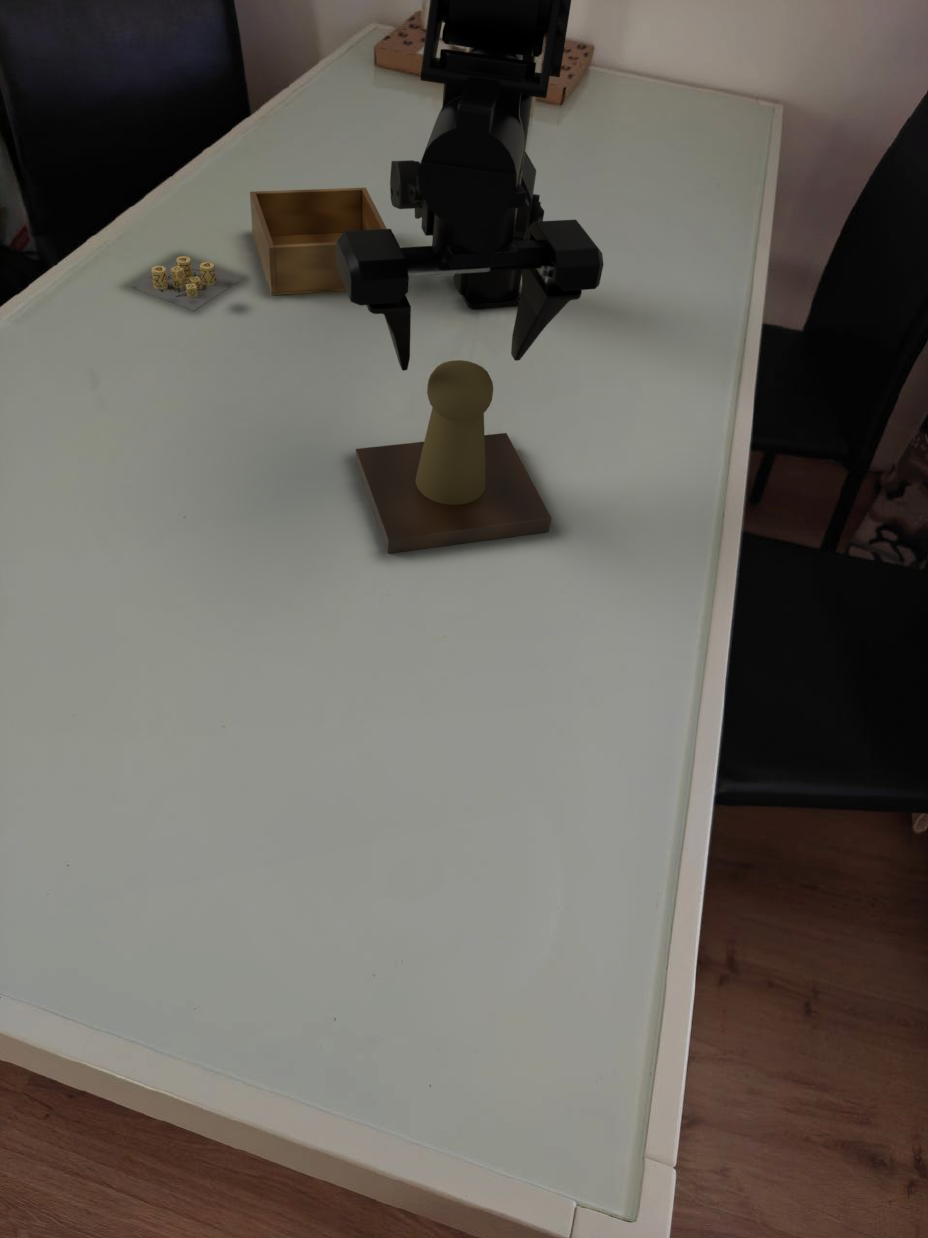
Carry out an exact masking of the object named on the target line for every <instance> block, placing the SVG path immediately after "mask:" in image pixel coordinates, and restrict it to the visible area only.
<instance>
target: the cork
mask: <svg viewBox="0 0 928 1238" xmlns="http://www.w3.org/2000/svg"><path fill="white" fill-rule="evenodd" d="M426 387H427V390H426V394H427V398H428V401H429V404H430V406H431V412H430V417H429V419H428V420H429V421H428V424H427V429H426V433H425V437H424V441H423V442H424V445H423V449H422V454H421V458H420V462H419V466H418V470H417V475H416V481H415V482H416V485H417V488H418V489H419V491H420V492H421V493H422V494H423V495H424V496H426V497H427V498H429V499H431V500H432V501H435V502H438V503H441V504H448V505H460V504H466V503H469V502H472V501H475V500H476V499H477V498H479V497H480V496H481V495H482V494H483V492H484V490H485V485H486V475H485V436H484V435H485V413H486V412H487V410H488V409H489V407H490V405H491V403H492V401H493V397H494V382H493V380H492V377H491V375H490V374H489V372H488V370H486V368H484V367H483V366H481V365H479V364H478V363H475V362H472V361H468V360H461V359H457V360H448V361H444V362H442V363H440V364H439V365H437V366H436V368H434V370H433V371H432V372H431V373H430V375H429V378H428V381H427V386H426Z"/></svg>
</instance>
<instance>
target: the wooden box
mask: <svg viewBox="0 0 928 1238" xmlns="http://www.w3.org/2000/svg"><path fill="white" fill-rule="evenodd" d="M249 201H250V202H249V203H250V214H251V233H252V239H253V243H254V245H255V249H256V252H257V255H258V258H259V261H260V264H261V267H262V270H263V273H264V277H265V279H266V283H267V286H268V289H269V292H270V295H271V296H282V295H298V294H313V293H314V294H315V293H329V292H344V291H346V289H345V286H344V284H343V282H342V279H341V277H340V275H339V272H338V270H337V267H336V243H337V240H338V239H339V238H340V236H341V235H342V234H343V232H344V231H355V230H375V229H388V228H387V226H386V224H385V222H384V221H383V219H382V216H381V214H380V212H379V211H378V208H377V207H376V204H375V202H374V201H373V199H372V197H371V195H370V193H369V191H368V189H367V187H344V188H342V187H340V188H316V189H315V188H314V189H313V188H312V189H287V190H283V189H282V190H260V191H259V190H255V191H254V190H253V191H249ZM346 292H347V291H346Z"/></svg>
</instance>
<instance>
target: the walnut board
mask: <svg viewBox="0 0 928 1238" xmlns="http://www.w3.org/2000/svg"><path fill="white" fill-rule="evenodd" d="M484 436H485V475H486V485H485V490H484V492H483V494H482V495H481V496H480V497H479V498H477V499H476V500H475V501H472V502H469V503H466V504H460V505H448V504H441V503H438V502H435V501H432V500H431V499H429V498H427V497H426V496H424V495H423V494H422V493H421V492H420V491H419V489H418V488H417V485H416V482H415V481H416V475H417V470H418V466H419V462H420V458H421V454H422V449H423V445H424V441H415V442H408V443H407V442H406V443H398V444H397V443H396V444H389V445H388V444H387V445H379V446H372V447H371V446H370V447H362V448H361V447H360V448H355V464H356V468H357V470H358V473H359V476H360V479H361V482H362V485H363V488H364V490H365V493H366V496H367V499H368V502H369V504H370V507H371V510H372V513H373V515H374V518H375V521H376V524H377V527H378V530H379V533H380V535H381V538H382V541H383V544H384V546H385V549H386V552H387V554H394V553H401V552H409V551H415V550H424V549H430V548H431V549H432V548H439V547H445V546H446V547H447V546H453V545H461V544H469V543H475V542H482V541H490V540H497V539H504V538H511V537H519V536H525V535H526V536H527V535H534V534H535V535H536V534H541V533H542V534H543V533H549V532H550V529H551V523H552V517H551V514H550V513H549V511H548V508H547V507H546V505H545V502H544V501H543V499H542V497H541V496H540V493H539V492H538V490H537V488H536V486H535V484H534V483H533V480H532V478H531V477H530V475H529V472H528V471H527V469H526V467H525V465H524V463H523V462H522V459H521V458H520V456H519V454H518V452H517V450H516V448H515V446H514V444H513V442H512V440H511V438H510V437H509V435H508V433H507V432H501V433H492V434H484Z"/></svg>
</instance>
